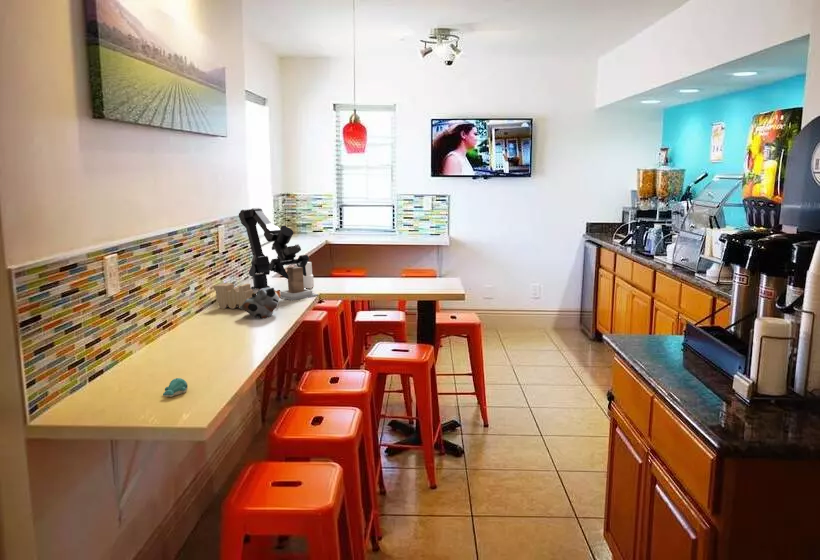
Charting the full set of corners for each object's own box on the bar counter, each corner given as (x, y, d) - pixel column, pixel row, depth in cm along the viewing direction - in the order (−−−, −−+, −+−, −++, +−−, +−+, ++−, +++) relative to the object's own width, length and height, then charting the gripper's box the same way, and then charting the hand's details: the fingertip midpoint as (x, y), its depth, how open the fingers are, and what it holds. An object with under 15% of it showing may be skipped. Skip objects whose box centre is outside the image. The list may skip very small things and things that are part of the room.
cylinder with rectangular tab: (304, 285, 317) (303, 261, 315) (317, 286, 312) (316, 262, 310) (291, 288, 310) (289, 263, 308) (304, 289, 305) (303, 265, 303)
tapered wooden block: (288, 295, 290) (287, 267, 288) (298, 293, 293) (296, 266, 291) (294, 296, 286) (292, 268, 284) (304, 294, 289) (302, 267, 287)
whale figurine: (193, 390, 167) (192, 376, 167) (177, 400, 160) (176, 385, 160) (173, 389, 168) (172, 375, 168) (156, 399, 161) (155, 384, 161)
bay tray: (275, 296, 290) (274, 291, 290) (301, 292, 300) (301, 286, 299) (291, 300, 280) (291, 295, 280) (318, 295, 289) (317, 290, 289)
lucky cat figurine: (253, 311, 260) (268, 280, 260) (276, 324, 256) (291, 293, 256) (232, 308, 246) (248, 276, 246) (256, 322, 242) (272, 289, 242)
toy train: (249, 310, 263) (247, 286, 262) (214, 308, 269) (213, 285, 267) (257, 307, 268) (255, 283, 267) (222, 305, 274) (221, 282, 272)
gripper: (270, 241, 282) (284, 268, 276) (306, 237, 294) (320, 263, 288) (262, 257, 289) (276, 284, 283) (297, 252, 302) (312, 278, 295)
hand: (297, 277), depth 287 cm, fingers open, 9 cm apart
